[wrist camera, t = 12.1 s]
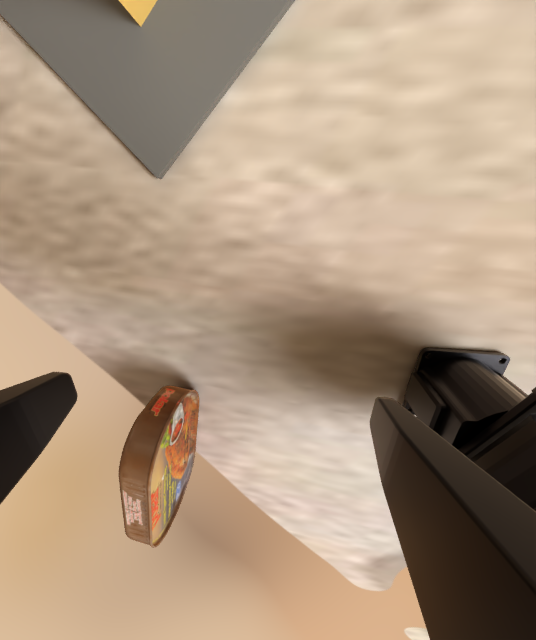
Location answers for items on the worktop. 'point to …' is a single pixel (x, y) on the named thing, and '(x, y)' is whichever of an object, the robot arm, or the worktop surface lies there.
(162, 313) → the worktop surface
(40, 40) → the charcoal mat
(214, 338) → the worktop surface
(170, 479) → the tin
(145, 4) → the ochre post
